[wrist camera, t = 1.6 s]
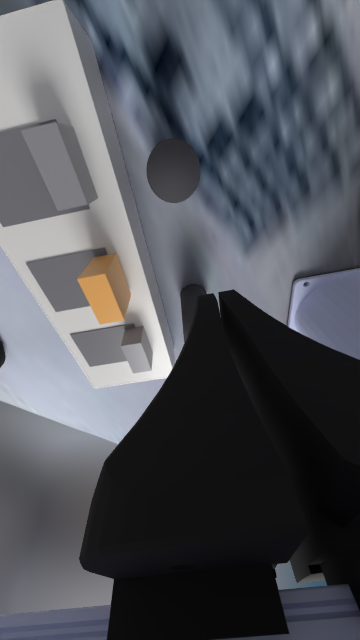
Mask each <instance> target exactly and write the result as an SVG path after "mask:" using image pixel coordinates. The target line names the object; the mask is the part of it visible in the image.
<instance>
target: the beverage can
mask: <svg viewBox="0 0 360 640" xmlns="http://www.w3.org/2000/svg"><path fill="white" fill-rule="evenodd" d="M4 361H5V352H4V348H3V345H2V343H1V342H0V367H1V366H2V365H3V364H4Z"/></svg>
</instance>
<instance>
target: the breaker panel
mask: <svg viewBox="0 0 360 640" xmlns="http://www.w3.org/2000/svg"><path fill="white" fill-rule="evenodd" d="M0 246H1V248H2V249H3V251H4V252H5V254H6V255H7V257H8V258H9V260H10V261H11V263H12V264H13V266H14V267H15V269H16V270H17V272H18V273H19V275H20V277H21V278H22V280H23V281H24V283H25V284H26V286H27V287H28V289H29V290H30V292H31V293H32V295H33V296H34V298H35V299H36V301H37V302H38V304H39V305H40V307H41V308H42V310H43V311H44V313H45V314H46V316H47V317H48V319H49V320H50V322H51V323H52V325H53V327H54V328H55V330H56V331H57V333H58V334H59V336H60V337H61V339H62V340H63V342H64V343H65V345H66V346H67V348H68V349H69V351H70V352H71V354H72V355H73V357H74V358H75V360H76V361H77V363H78V364H79V366H80V367H81V369H82V370H83V372H84V373H85V375H86V376H87V378H88V380H89V381H90V383H91V384H92V386H93V387H94V389H96V388H103V387H109V386H116V385H123V384H129V383H136V382H142V381H149V380H156V379H162V378H167V377H168V375H169V374H170V372H171V370H172V369H173V367H174V365H175V359H174V345H173V341H172V338H171V334H170V330H169V326H168V323H167V319H166V315H165V312H164V308H163V304H162V300H161V297H160V293H159V289H158V286H157V282H156V278H155V274H154V271H153V267H152V263H151V260H150V256H149V252H148V248H147V245H146V241H145V237H144V234H143V230H142V226H141V223H140V219H139V215H138V211H137V208H136V204H135V200H134V197H133V193H132V189H131V185H130V182H129V178H128V174H127V171H126V167H125V163H124V159H123V156H122V152H121V148H120V145H119V141H118V137H117V133H116V130H115V126H114V122H113V119H112V115H111V111H110V107H109V104H108V100H107V96H106V93H105V89H104V85H103V81H102V78H101V74H100V70H99V67H98V63H97V59H96V56H95V52H94V48H93V44H92V42H91V40H90V39H89V37H88V36H87V34H86V33H85V31H84V30H83V28H82V27H81V25H80V24H79V22H78V21H77V19H76V18H75V16H74V15H73V13H72V12H71V10H70V9H69V7H68V6H67V4H66V3H65V1H64V0H53V1H49V2H46V3H42V4H39V5H35V6H32V7H28V8H25V9H21V10H18V11H14V12H11V13H8V14H4V15H1V16H0ZM114 253H116V254H117V256H118V259H119V262H120V265H121V268H122V270H123V273H124V276H125V279H126V282H127V284H128V287H129V290H130V293H131V298H130V301H129V305H128V309H127V312H126V316H125V320H124V321H118V322H112V323H107V324H101V325H100V324H99V322H98V320H97V318H96V316H95V314H94V312H93V310H92V308H91V306H90V304H89V302H88V300H87V298H86V296H85V294H84V292H83V290H82V288H81V286H80V284H79V282H78V280H77V278H78V277H79V276H80V274H81V273H82V272H83V270H84V269H85V268H86V266H87V265H88V264H89V262H90V261H91V260H92V258H94V257H99V256H104V255H109V254H114Z"/></svg>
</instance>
